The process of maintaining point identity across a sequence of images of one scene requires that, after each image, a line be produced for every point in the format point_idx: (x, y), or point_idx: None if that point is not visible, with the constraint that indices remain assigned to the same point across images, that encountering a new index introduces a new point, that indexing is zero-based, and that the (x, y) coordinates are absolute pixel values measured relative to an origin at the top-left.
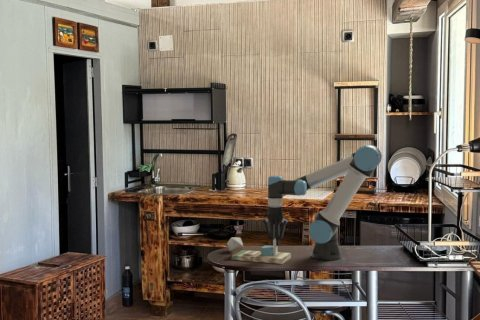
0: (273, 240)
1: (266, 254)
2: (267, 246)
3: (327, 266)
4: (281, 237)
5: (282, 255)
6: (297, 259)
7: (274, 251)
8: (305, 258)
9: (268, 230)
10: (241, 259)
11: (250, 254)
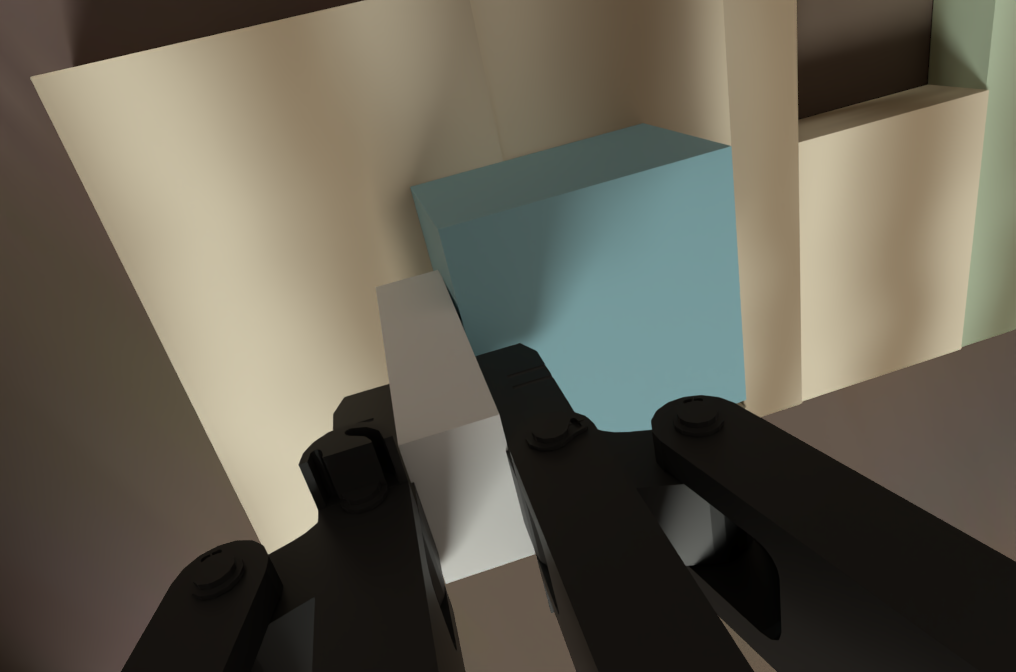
0: (478, 404)
1: (539, 156)
2: (646, 345)
3: None
4: (162, 602)
5: (273, 357)
6: (115, 512)
7: (408, 285)
8: (61, 627)
9: (896, 612)
10: None
11: (864, 124)
